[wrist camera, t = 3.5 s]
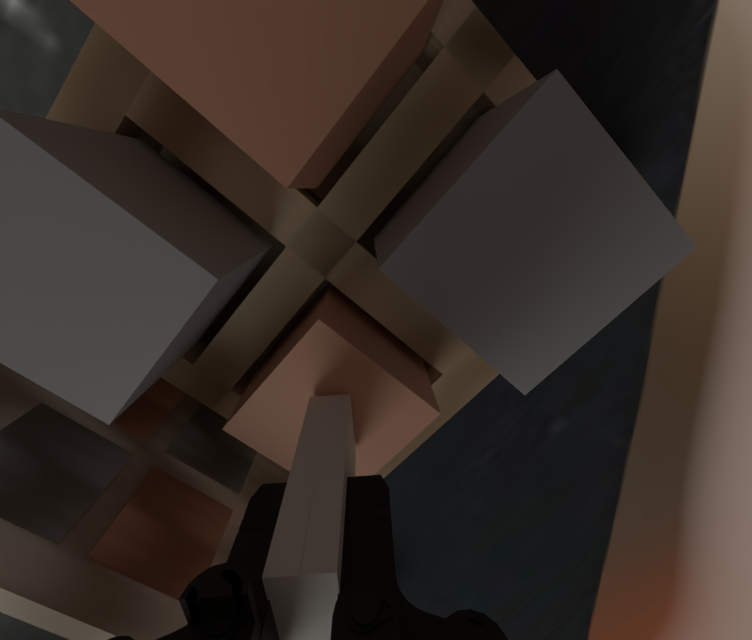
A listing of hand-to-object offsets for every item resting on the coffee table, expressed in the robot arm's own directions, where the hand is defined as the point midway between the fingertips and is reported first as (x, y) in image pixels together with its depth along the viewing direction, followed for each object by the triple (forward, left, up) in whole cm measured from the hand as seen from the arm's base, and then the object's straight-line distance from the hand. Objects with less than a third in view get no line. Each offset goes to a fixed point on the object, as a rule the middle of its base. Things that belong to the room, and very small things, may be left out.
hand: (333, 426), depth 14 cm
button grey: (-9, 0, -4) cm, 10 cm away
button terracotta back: (0, 0, -6) cm, 6 cm away
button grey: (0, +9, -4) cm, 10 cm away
